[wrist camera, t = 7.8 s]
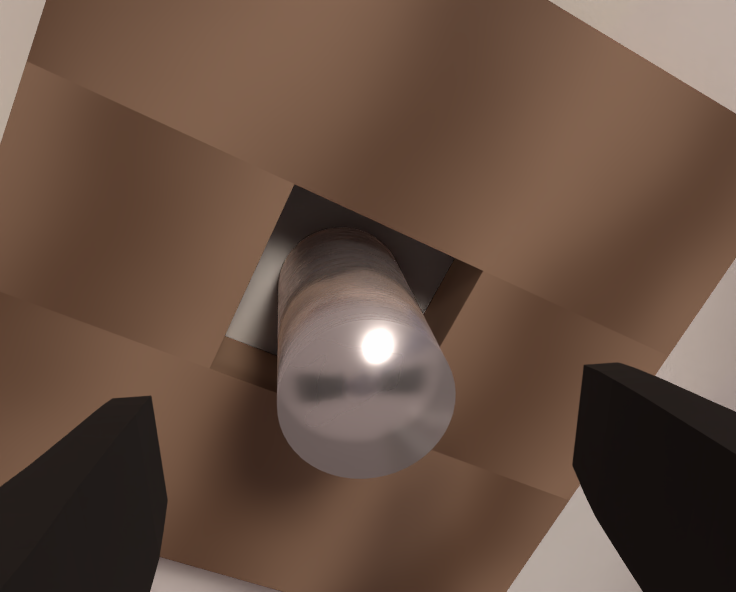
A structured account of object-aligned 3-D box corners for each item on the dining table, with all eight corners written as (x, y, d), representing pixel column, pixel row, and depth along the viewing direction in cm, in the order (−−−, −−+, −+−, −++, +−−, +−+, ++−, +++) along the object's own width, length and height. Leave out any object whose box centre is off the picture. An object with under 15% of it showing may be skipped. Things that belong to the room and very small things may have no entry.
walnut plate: (749, 143, 17) (805, 155, 15) (454, 592, 22) (469, 644, 20) (149, -214, 13) (126, -254, 11) (-67, 434, 18) (-107, 481, 16)
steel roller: (411, 236, 17) (474, 333, 12) (387, 348, 18) (434, 484, 13) (288, 218, 17) (291, 310, 11) (270, 334, 18) (265, 470, 12)
